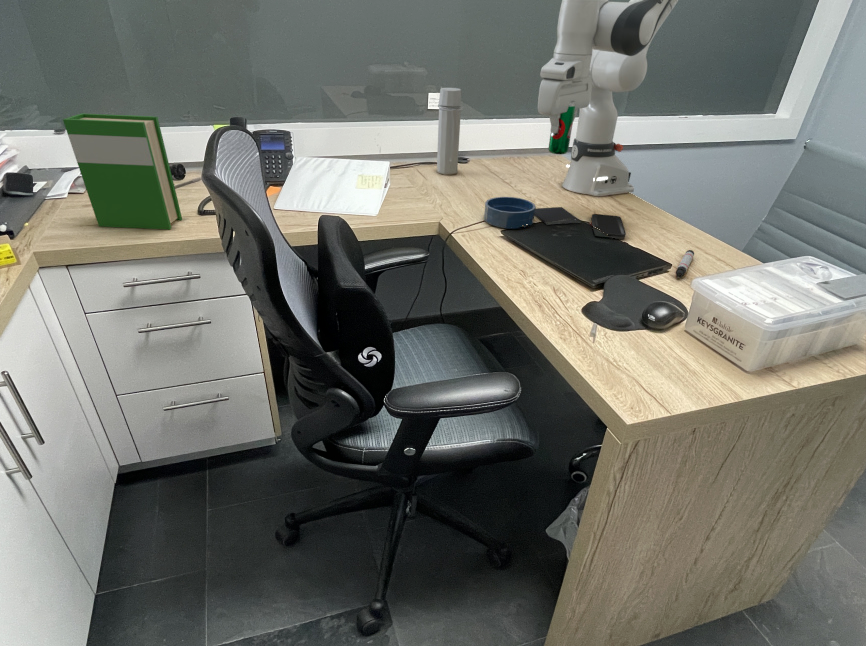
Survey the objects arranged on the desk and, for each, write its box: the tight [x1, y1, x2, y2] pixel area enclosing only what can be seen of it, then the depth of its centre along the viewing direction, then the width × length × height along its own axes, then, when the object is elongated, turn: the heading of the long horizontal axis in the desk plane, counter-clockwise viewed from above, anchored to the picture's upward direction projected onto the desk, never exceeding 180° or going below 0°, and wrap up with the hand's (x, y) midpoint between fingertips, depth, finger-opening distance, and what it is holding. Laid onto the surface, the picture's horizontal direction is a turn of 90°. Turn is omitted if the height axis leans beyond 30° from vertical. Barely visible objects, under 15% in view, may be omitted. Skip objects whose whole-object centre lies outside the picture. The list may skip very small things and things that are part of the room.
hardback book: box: [62, 112, 183, 230], centre depth 129 cm, size 18×7×24 cm, turn 88°
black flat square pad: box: [534, 206, 581, 224], centre depth 149 cm, size 10×12×1 cm
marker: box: [675, 249, 695, 278], centre depth 122 cm, size 15×2×2 cm, turn 150°
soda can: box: [547, 101, 576, 155], centre depth 135 cm, size 5×5×12 cm
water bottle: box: [436, 87, 464, 176], centre depth 174 cm, size 9×8×25 cm
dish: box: [483, 196, 537, 230], centre depth 144 cm, size 13×13×4 cm
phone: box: [590, 213, 627, 240], centre depth 142 cm, size 8×1×15 cm
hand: (561, 131), depth 136 cm, fingers closed on soda can, 5 cm apart
